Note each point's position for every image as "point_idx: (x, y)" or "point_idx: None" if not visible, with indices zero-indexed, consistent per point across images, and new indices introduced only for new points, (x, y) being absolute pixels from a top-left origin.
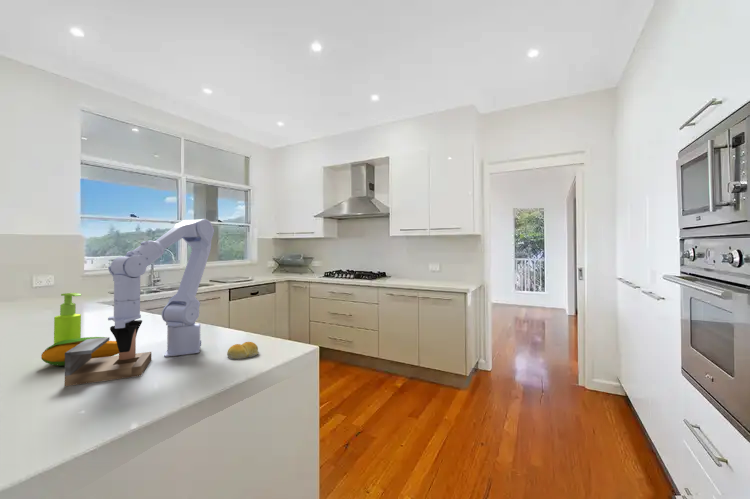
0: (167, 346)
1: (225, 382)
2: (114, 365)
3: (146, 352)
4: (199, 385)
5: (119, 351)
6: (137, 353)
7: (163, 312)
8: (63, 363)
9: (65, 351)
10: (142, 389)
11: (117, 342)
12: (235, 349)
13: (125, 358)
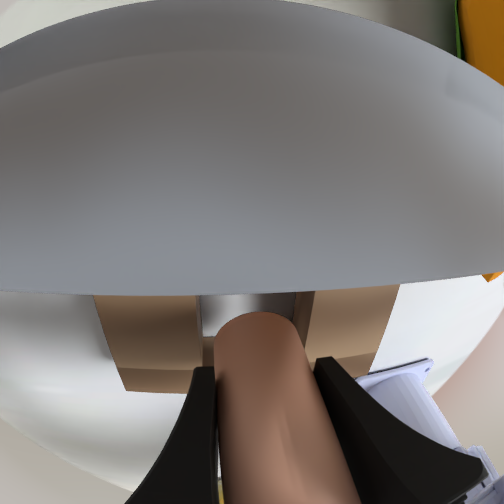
0: (399, 395)
1: (67, 456)
2: (176, 296)
3: (369, 362)
4: (52, 435)
5: (193, 373)
6: (380, 334)
7: (492, 480)
8: (456, 23)
9: (496, 20)
10: (23, 366)
11: (173, 431)
12: (222, 499)
13: (214, 351)
